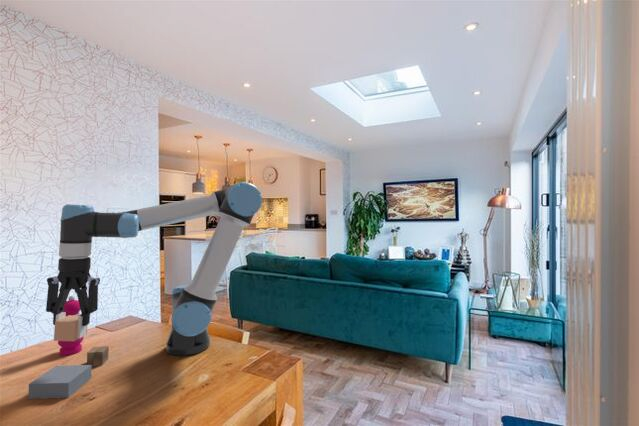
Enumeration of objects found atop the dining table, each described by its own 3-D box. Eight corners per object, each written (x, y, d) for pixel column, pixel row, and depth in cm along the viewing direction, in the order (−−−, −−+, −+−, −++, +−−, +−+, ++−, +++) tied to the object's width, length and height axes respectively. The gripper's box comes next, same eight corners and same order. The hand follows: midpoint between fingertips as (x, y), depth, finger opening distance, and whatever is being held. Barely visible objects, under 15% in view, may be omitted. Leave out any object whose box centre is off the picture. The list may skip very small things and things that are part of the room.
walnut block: (93, 360, 108) (108, 359, 109) (86, 366, 103) (102, 365, 104) (93, 347, 108) (108, 346, 109) (87, 352, 103) (102, 351, 104)
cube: (86, 334, 96) (88, 315, 96) (73, 341, 91) (75, 322, 91) (67, 333, 96) (69, 315, 96) (53, 340, 90) (55, 321, 91)
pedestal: (91, 378, 96) (91, 364, 96) (68, 397, 86) (68, 382, 86) (55, 379, 95) (56, 365, 95) (28, 398, 85) (28, 383, 85)
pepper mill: (55, 357, 109) (56, 299, 109) (60, 349, 115) (61, 294, 115) (81, 353, 112) (82, 297, 112) (85, 346, 118) (86, 292, 118)
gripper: (115, 256, 98) (111, 332, 98) (52, 254, 97) (47, 330, 96) (99, 260, 90) (95, 342, 90) (31, 257, 89) (26, 340, 89)
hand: (70, 336), depth 93 cm, fingers closed on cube, 5 cm apart
